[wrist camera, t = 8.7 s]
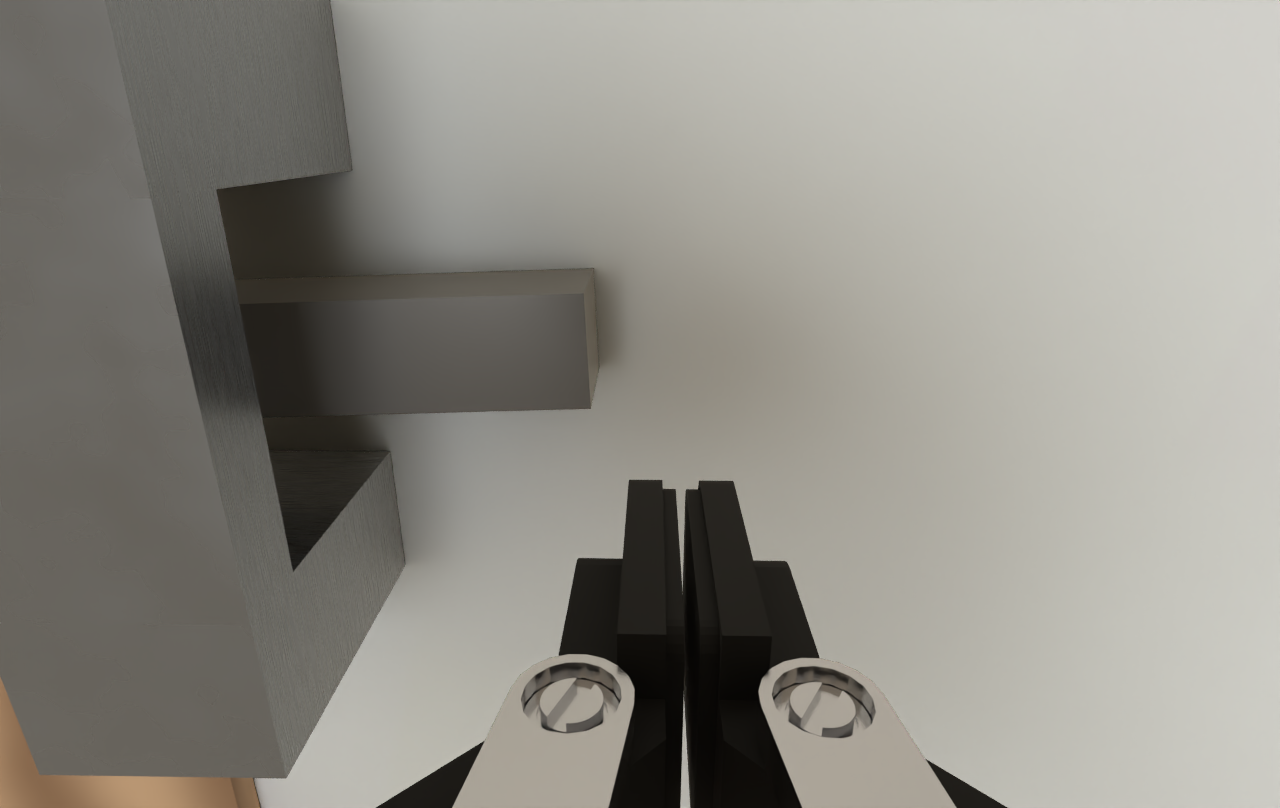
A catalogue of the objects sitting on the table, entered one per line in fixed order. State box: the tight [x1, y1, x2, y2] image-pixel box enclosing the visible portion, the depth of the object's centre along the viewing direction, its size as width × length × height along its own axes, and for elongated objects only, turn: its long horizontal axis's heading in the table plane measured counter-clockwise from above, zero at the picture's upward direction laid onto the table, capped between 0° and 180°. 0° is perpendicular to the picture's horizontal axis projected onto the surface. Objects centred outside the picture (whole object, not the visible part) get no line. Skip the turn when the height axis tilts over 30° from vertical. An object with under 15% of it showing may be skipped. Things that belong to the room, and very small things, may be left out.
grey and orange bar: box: [234, 268, 599, 418], centre depth 21 cm, size 23×4×4 cm, turn 92°
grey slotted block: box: [0, 0, 405, 778], centre depth 18 cm, size 6×18×9 cm, turn 0°
